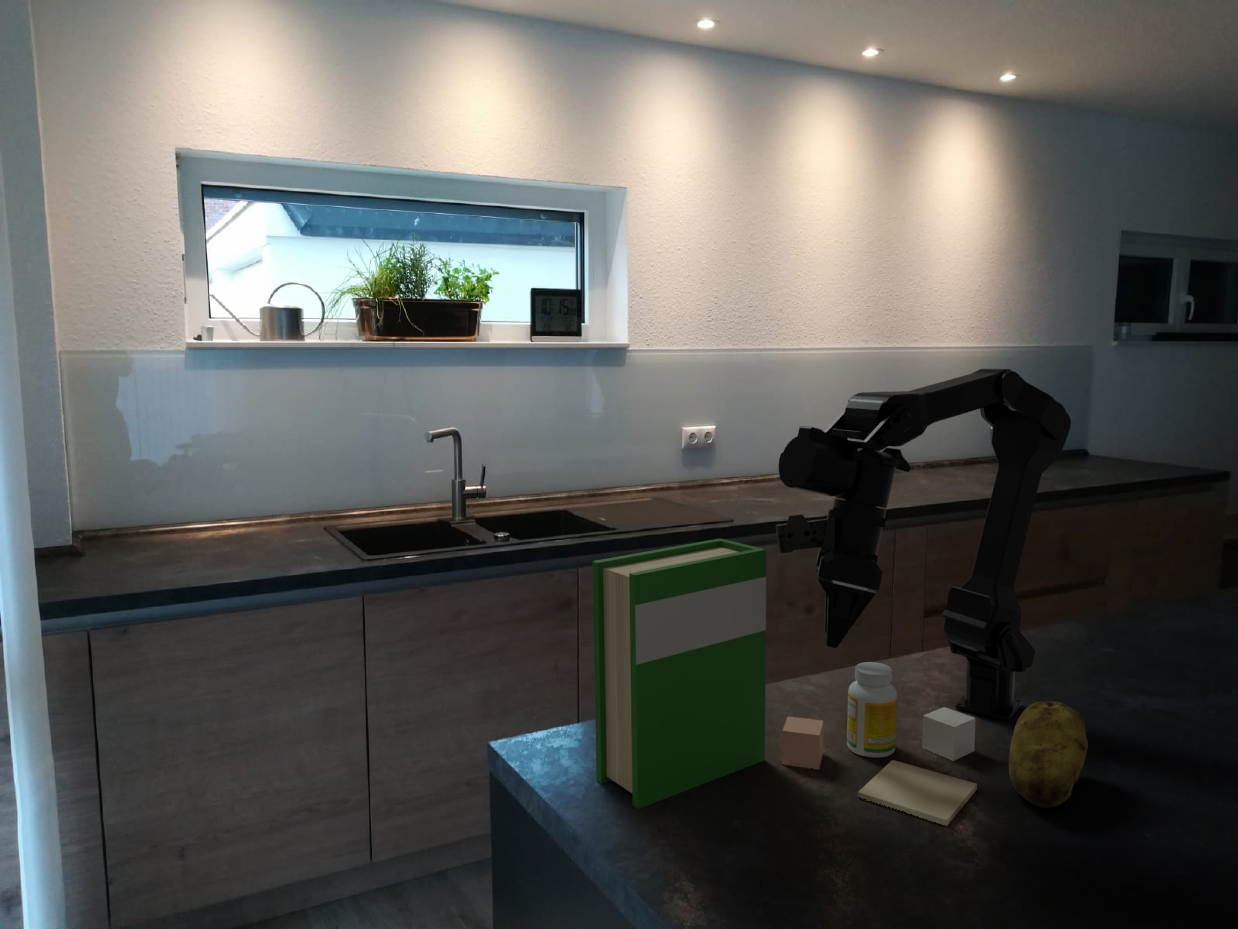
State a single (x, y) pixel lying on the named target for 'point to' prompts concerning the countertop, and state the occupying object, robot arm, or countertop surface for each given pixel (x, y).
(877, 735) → the supplement bottle
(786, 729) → the terracotta block
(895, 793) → the coaster
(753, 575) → the hardback book
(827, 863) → the countertop surface
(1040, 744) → the potato
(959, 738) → the grey block
